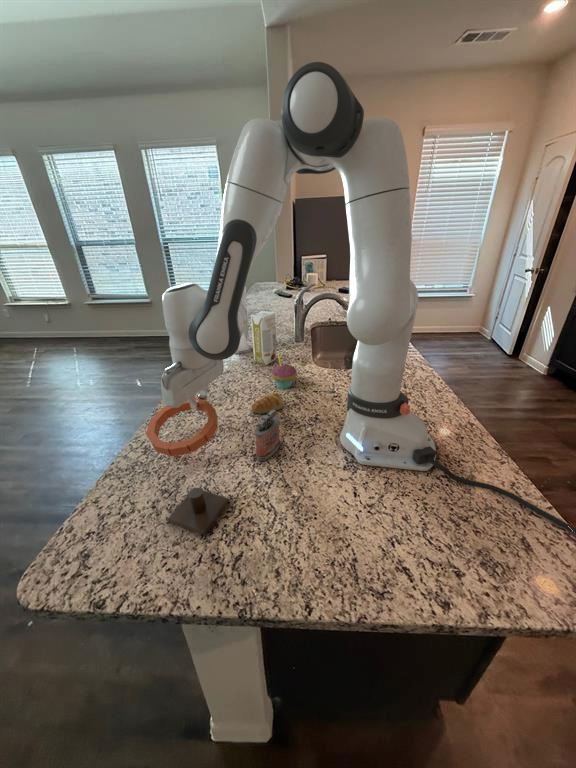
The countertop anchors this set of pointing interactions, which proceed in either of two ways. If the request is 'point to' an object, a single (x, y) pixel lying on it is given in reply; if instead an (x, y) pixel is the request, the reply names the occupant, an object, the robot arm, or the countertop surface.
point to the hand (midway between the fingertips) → (199, 404)
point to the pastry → (268, 403)
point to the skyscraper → (243, 341)
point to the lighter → (267, 436)
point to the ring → (189, 444)
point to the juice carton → (264, 337)
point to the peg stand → (198, 511)
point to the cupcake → (283, 374)
